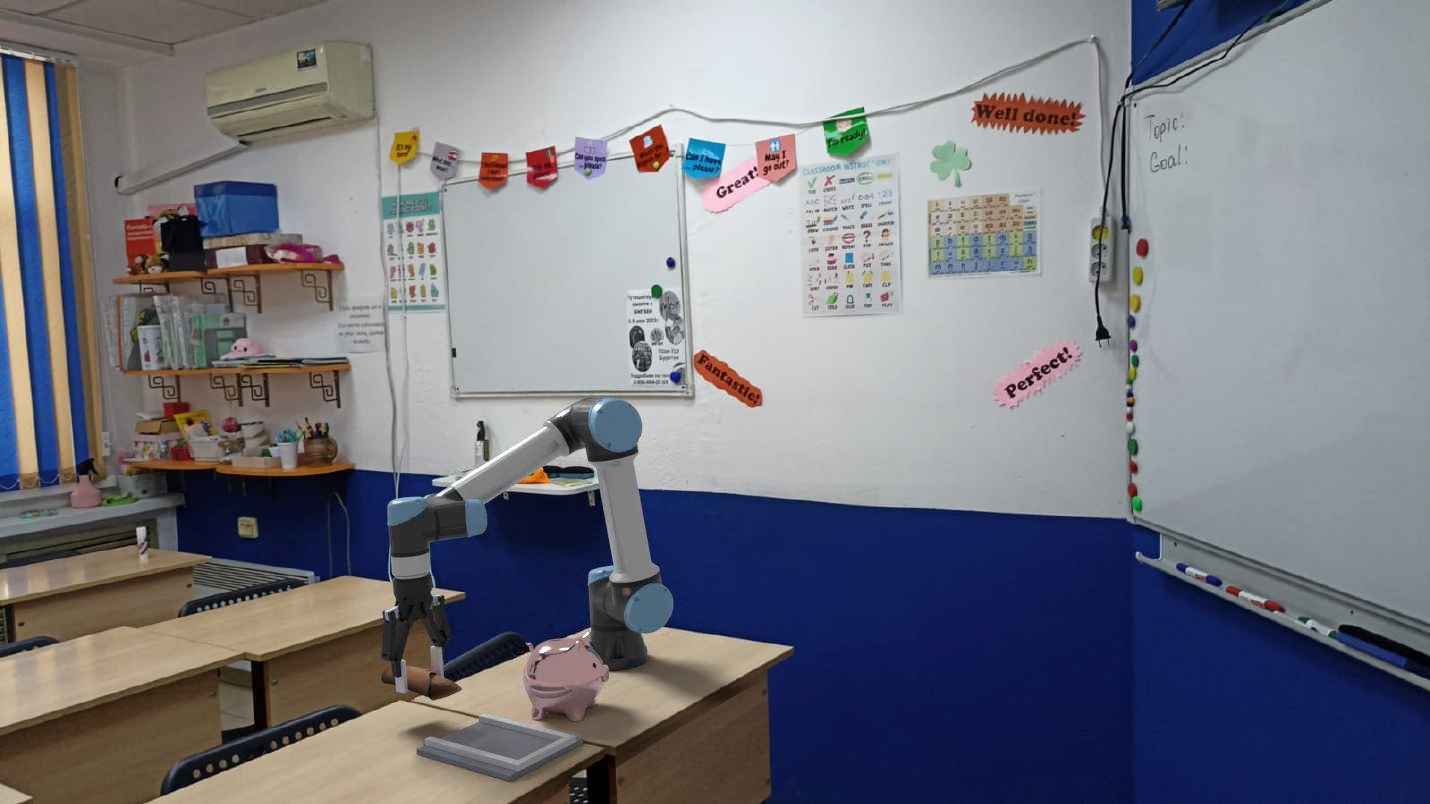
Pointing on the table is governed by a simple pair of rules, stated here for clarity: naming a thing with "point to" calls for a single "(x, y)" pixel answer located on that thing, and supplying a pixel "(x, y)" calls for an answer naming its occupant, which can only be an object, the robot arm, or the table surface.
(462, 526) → the robot arm
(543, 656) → the piggy bank
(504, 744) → the rail cradle
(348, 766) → the table surface
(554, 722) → the table surface
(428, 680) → the sunglasses case
